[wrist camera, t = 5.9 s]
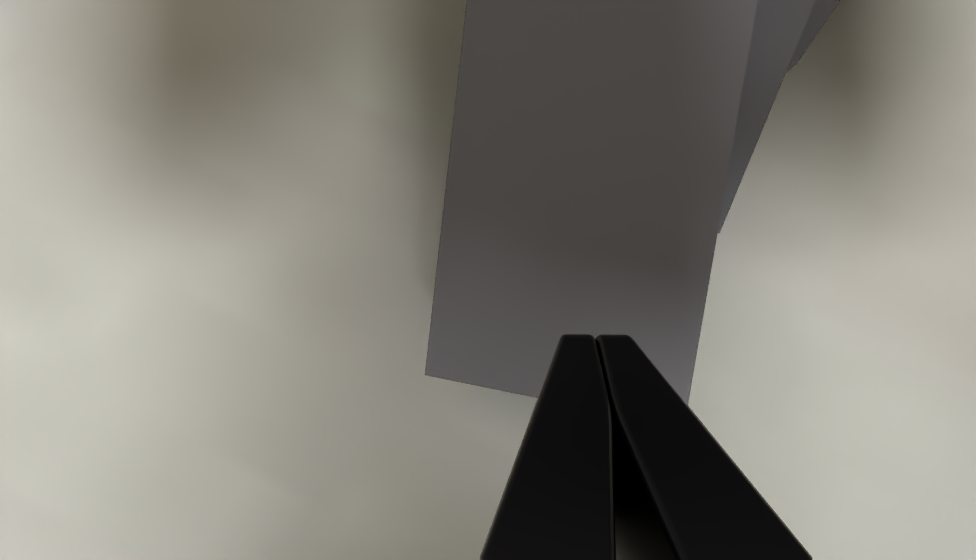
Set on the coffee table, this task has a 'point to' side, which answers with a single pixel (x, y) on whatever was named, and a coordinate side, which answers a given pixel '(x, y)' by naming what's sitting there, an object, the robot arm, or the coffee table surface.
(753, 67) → the domino
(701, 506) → the robot arm
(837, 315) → the coffee table surface
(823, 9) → the domino
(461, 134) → the domino
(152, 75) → the coffee table surface
